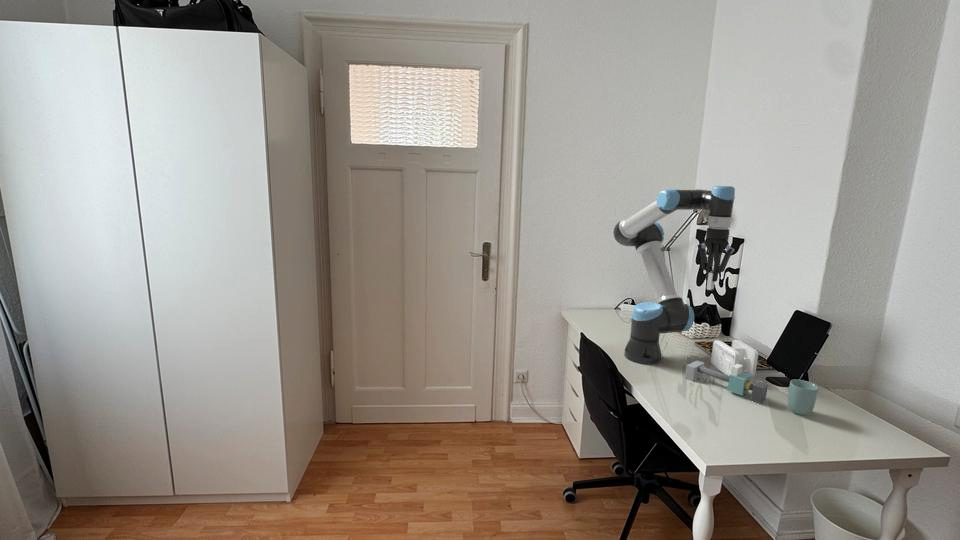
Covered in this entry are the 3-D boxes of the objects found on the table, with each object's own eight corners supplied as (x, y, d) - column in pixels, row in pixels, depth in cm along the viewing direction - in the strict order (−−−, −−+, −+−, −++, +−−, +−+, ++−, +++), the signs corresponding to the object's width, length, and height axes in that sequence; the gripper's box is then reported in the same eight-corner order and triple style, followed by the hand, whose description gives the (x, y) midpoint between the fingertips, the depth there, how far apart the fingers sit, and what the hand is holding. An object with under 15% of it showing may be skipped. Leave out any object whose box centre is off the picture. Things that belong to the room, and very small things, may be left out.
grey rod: (694, 371, 176) (695, 365, 176) (697, 370, 178) (698, 363, 177) (753, 392, 160) (754, 386, 160) (756, 390, 162) (757, 383, 161)
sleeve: (727, 390, 166) (730, 367, 164) (734, 385, 169) (738, 363, 167) (741, 395, 162) (745, 372, 160) (748, 390, 165) (752, 367, 163)
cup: (813, 420, 148) (819, 392, 146) (785, 413, 152) (790, 385, 150) (812, 410, 155) (817, 383, 152) (784, 403, 159) (789, 377, 156)
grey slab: (685, 378, 177) (686, 365, 175) (695, 372, 182) (696, 360, 180) (692, 381, 174) (694, 368, 173) (702, 375, 179) (704, 362, 178)
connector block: (750, 400, 160) (753, 385, 159) (756, 396, 163) (758, 381, 162) (759, 404, 158) (762, 388, 157) (765, 400, 161) (768, 384, 160)
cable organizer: (756, 380, 176) (761, 352, 174) (730, 380, 175) (734, 352, 173) (732, 364, 191) (736, 338, 188) (708, 364, 190) (712, 338, 188)
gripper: (696, 226, 172) (688, 286, 178) (732, 230, 163) (723, 294, 168) (705, 225, 177) (697, 284, 182) (741, 229, 167) (732, 291, 172)
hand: (710, 289), depth 175 cm, fingers closed
